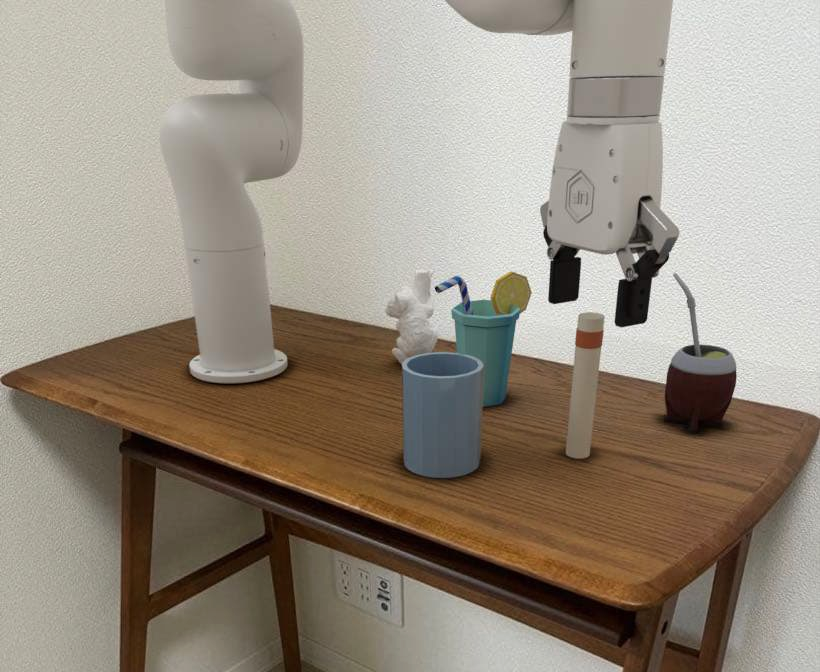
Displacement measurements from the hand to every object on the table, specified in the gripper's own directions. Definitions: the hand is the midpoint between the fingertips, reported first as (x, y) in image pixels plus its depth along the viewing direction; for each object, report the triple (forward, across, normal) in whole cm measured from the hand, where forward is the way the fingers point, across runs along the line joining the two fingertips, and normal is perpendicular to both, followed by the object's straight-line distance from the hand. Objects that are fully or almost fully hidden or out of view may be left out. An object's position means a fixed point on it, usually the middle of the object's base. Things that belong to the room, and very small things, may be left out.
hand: (595, 312), depth 76 cm
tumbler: (+14, -6, -13) cm, 20 cm away
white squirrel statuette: (+14, -34, -1) cm, 36 cm away
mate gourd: (+15, -2, +16) cm, 22 cm away
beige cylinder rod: (+14, 0, 0) cm, 14 cm away
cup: (+14, -18, -1) cm, 23 cm away
